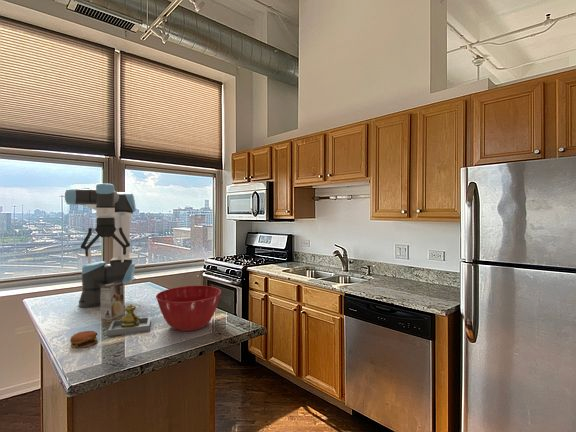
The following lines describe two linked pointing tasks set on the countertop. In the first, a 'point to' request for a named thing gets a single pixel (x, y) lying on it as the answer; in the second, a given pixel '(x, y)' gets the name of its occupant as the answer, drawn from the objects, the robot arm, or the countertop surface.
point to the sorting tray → (117, 330)
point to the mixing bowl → (188, 306)
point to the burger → (84, 339)
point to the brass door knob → (130, 317)
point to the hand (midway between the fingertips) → (106, 262)
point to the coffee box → (112, 300)
